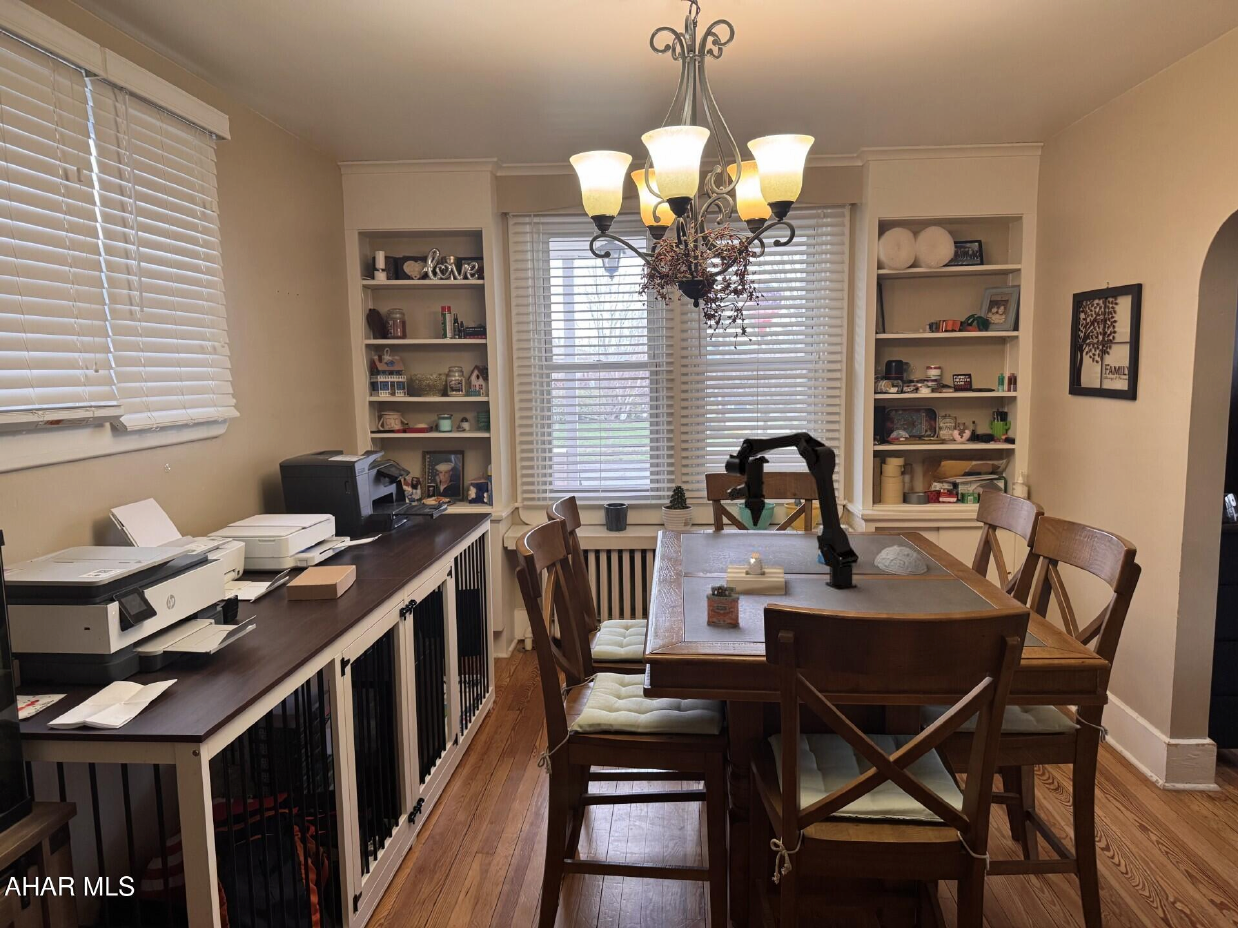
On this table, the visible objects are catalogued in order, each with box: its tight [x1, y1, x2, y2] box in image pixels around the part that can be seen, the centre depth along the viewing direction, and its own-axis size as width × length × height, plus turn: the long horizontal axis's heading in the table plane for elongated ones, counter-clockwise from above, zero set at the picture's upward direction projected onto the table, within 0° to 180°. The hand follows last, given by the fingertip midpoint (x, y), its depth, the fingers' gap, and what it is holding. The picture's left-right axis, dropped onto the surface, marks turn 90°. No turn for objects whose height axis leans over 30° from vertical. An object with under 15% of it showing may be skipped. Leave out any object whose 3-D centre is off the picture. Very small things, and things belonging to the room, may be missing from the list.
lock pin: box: [751, 552, 760, 558], centre depth 235 cm, size 12×2×2 cm, turn 170°
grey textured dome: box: [874, 544, 928, 576], centre depth 246 cm, size 16×25×7 cm, turn 174°
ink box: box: [817, 523, 850, 565], centre depth 252 cm, size 9×5×12 cm, turn 113°
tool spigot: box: [747, 557, 764, 575], centre depth 226 cm, size 4×4×8 cm
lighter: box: [705, 584, 741, 629], centre depth 191 cm, size 8×3×10 cm, turn 69°
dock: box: [725, 565, 786, 595], centre depth 226 cm, size 16×16×4 cm
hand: (755, 526), depth 249 cm, fingers closed
